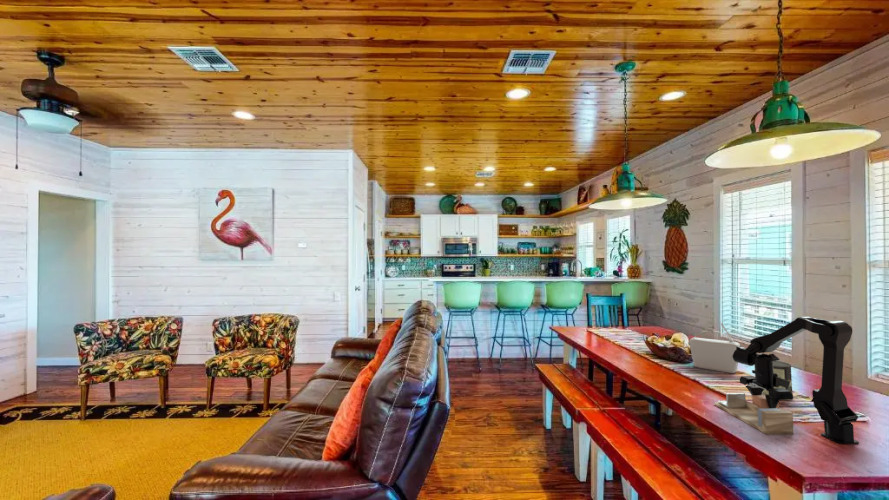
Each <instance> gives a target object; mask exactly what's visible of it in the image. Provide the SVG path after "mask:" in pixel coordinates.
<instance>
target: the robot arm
mask: <svg viewBox="0 0 889 500" xmlns="http://www.w3.org/2000/svg"><path fill="white" fill-rule="evenodd" d="M804 331H808V332H810V333H814V334H817V335H818V339H819V340H820V342H821V344H822V347H823V348H822V349H823V350H822V351H823V355H822V369H821V371H822V372H821V386H820V388H816V389H813V390H812V399H811V401H810V402H813V407H814V409H816V410H817V412H818V415H819V418H820V419H821V421H823V424H824V427H823V428H824V432H820V435H821V436H823V437H824V438H827V439H829V440H831V441H833V442H836V443H837V444H839V445H840V444H841V445H843V444H845V445H849V444H850V445H851V444H859V443H860V442H859V441H858V440H856V439H855V436H854V433H855V431H854V424H853V423H855V422H857V421H858V419H859V416H858V415H857V414H856V413H855V412H854V411H853V409H851V408H850V407H849V403H848V400H847V399H848V398H847V396H846V395H845V393H844V391H843V388H842V387H843V371H844V355H845V353H844V352H845V349H846V346H848V344H849V342H850V341H851V338H852V334H853V327H852V326H851V325H850V324H848V322H846V321H844V320H827V319H821V318H815V317H810V316H798V317H796V318H795V320H793V321H790V322H789V323H787V324H785V325H784V326H782V327H780V328H778V329H777V330H775V331H773V332H771V333H769V334H765V335H762V336H761V335H760V336H758V337H755V338H752V339H751V340H749V343H750V344H749V345H748V346H747V347H743V346H740V347H736V350H735V351H734V353H733V360H734V361H735V362H738V364H742V365H746V366H749V367H753V366H754V369H752V370H751V373H752V374H754V376H753V375H745V376H744V375H741V376H740V377H739V383H740V384H742V385H744V386H745V388H746V389H747V390H748V392H749V393H750V394H751V396H752V395H763V394H762V392H763V390H764V389H765V390H767V391H769V395H765V397H766V400H767V403H768V406H769V408H776V407H777V404H778V403H779V404H780V401H782V400H783V401H786V400H785V399H791V400H794V393H793V391H792V392H791V391H788V390H786V389H788V388H789V385H790V381H788V380H785V379H782V378H780V377H778V375H777V374H776V373H774V369H773V361H780V358H779V357H778V356H776V354H775V353H771V352H774V351H776V349H778V348H779V347H780V346H781V344H782V343H783V342H785V341H787V340H789V339H791V338H793V337H794V336H797V335H798V334H800V333H802V332H804ZM767 353H769V354H767ZM779 386H782V387H785V388H786V389H783V388H774V387H779Z"/></svg>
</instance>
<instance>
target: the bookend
mask: <svg viewBox="0 0 889 500" xmlns="http://www.w3.org/2000/svg"><path fill="white" fill-rule="evenodd" d="M725 394H726V395H725V397H726V398H725V399H726V400H717V402H719V403H720V404H722V405H724V406H726V407H728V408H742V407H746V401H747V399H746V393H745V392H728V393H727V392H726V393H725Z"/></svg>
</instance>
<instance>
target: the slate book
mask: <svg viewBox="0 0 889 500" xmlns="http://www.w3.org/2000/svg"><path fill="white" fill-rule="evenodd" d="M778 410H781V409H780V408H779V409H778V408H766V409H758V425H759V426H760V427H762V411H778Z"/></svg>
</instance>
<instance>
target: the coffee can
mask: <svg viewBox="0 0 889 500" xmlns="http://www.w3.org/2000/svg"><path fill="white" fill-rule="evenodd" d="M773 369H774V373H776V374H777V375H778V377H780V378H782V379H785V380H788V381H790V385H789V388H788V389H786V388H785V387H782V386H779V387H774V388H783V389H786V390H788V391H791V392H792V393H793V379H792V377H793V376H792V364H790V363H788V362H785V361H780V360H777V361H773ZM762 395H769V391H767V390H765V389H764V390H763V392H762ZM790 400H792V399H785V400H784V401H790Z"/></svg>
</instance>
